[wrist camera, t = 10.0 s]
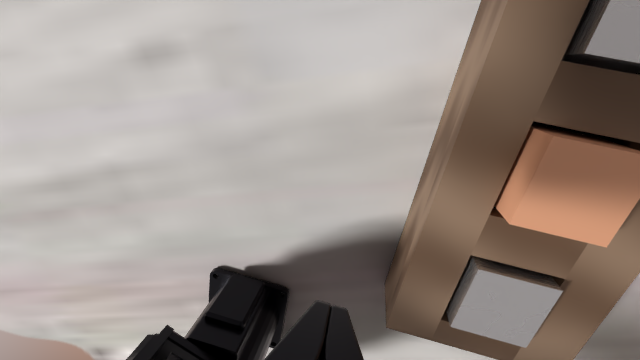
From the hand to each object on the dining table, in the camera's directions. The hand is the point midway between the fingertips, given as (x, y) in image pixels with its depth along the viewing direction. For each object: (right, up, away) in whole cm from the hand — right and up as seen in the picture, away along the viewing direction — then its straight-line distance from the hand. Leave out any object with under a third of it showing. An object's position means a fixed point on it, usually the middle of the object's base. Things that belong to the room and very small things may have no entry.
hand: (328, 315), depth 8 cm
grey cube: (+10, -2, +11) cm, 15 cm away
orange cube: (+11, +4, +8) cm, 14 cm away
